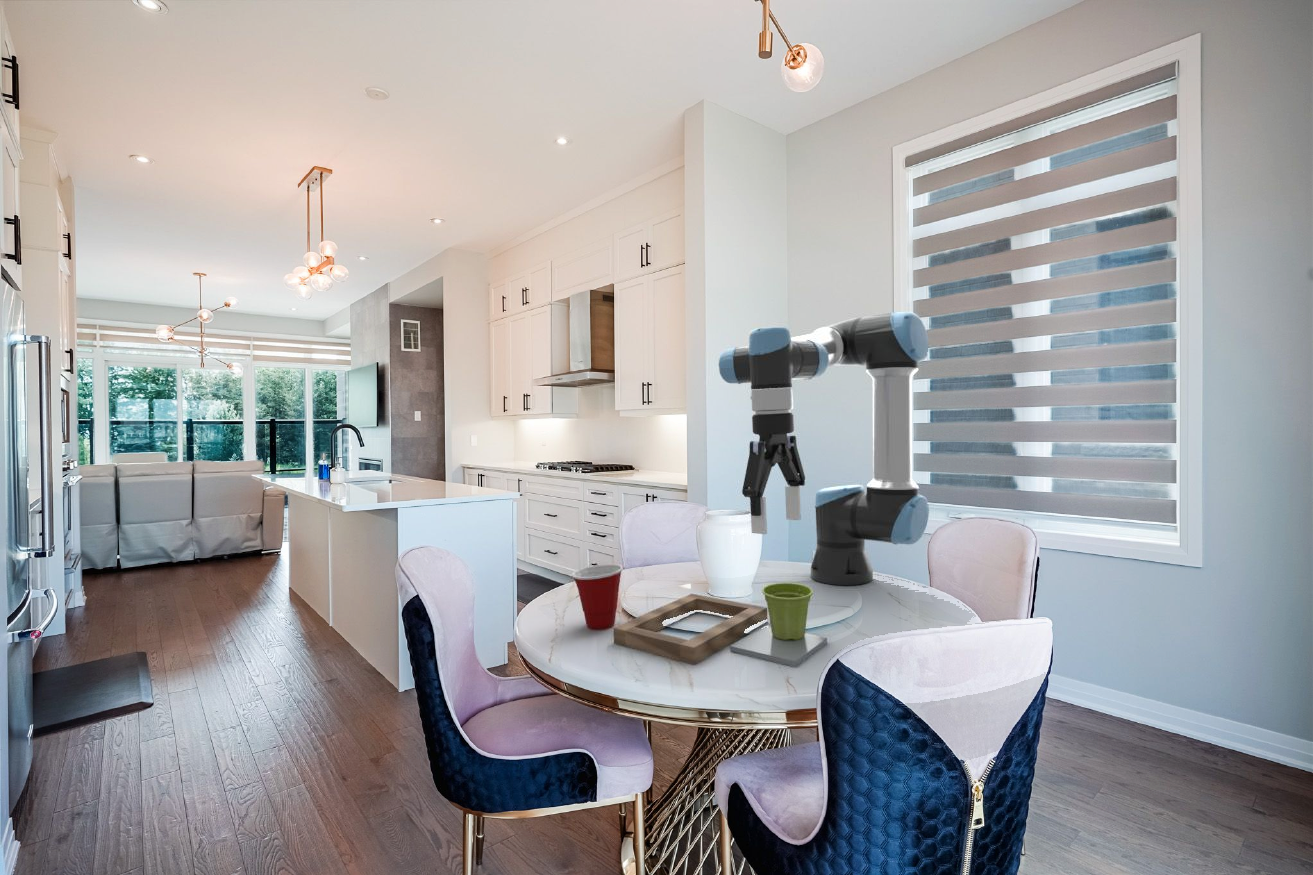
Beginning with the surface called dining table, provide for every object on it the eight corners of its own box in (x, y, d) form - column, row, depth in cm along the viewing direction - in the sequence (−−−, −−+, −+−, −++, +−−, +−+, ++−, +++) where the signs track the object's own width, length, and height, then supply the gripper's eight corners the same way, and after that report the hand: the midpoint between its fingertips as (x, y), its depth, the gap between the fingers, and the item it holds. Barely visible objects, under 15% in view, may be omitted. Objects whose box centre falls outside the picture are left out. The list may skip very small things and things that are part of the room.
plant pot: (823, 633, 122) (822, 588, 121) (796, 648, 115) (794, 600, 115) (782, 622, 129) (780, 579, 128) (753, 636, 122) (752, 591, 121)
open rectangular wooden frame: (692, 606, 145) (691, 593, 144) (767, 621, 133) (767, 607, 133) (613, 643, 124) (613, 627, 124) (694, 664, 112) (693, 647, 112)
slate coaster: (765, 630, 128) (765, 625, 128) (827, 643, 120) (827, 637, 120) (730, 651, 118) (730, 645, 118) (795, 666, 110) (795, 661, 110)
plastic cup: (583, 616, 141) (581, 561, 141) (631, 617, 139) (628, 562, 138) (566, 633, 131) (563, 575, 130) (617, 635, 128) (614, 575, 128)
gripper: (784, 409, 131) (789, 513, 132) (718, 416, 111) (724, 537, 113) (819, 408, 126) (823, 515, 128) (757, 415, 107) (762, 541, 108)
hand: (777, 526), depth 120 cm, fingers open, 13 cm apart
